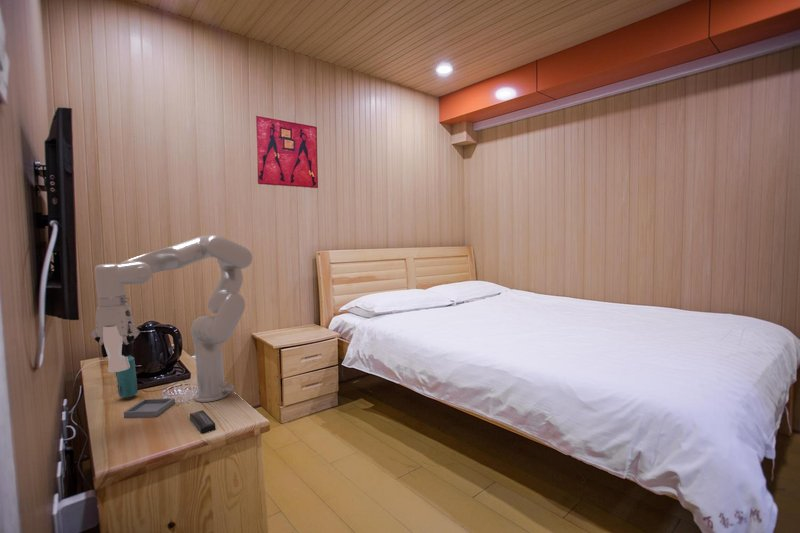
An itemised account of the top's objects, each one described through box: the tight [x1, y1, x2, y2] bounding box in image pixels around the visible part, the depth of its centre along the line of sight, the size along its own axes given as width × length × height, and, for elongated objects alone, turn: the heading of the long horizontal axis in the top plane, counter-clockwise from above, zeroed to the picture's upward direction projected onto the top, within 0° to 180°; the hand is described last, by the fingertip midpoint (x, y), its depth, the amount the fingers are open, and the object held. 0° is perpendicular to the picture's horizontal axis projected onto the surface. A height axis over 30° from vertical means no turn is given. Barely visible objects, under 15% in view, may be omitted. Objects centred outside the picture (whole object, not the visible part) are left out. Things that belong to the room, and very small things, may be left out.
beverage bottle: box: [115, 355, 139, 398], centre depth 164 cm, size 6×7×20 cm
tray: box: [123, 397, 176, 419], centre depth 153 cm, size 12×12×2 cm
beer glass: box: [102, 326, 130, 373], centre depth 137 cm, size 7×7×15 cm
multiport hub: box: [189, 410, 216, 435], centre depth 140 cm, size 4×14×2 cm, turn 40°
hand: (117, 355), depth 138 cm, fingers closed on beer glass, 6 cm apart
